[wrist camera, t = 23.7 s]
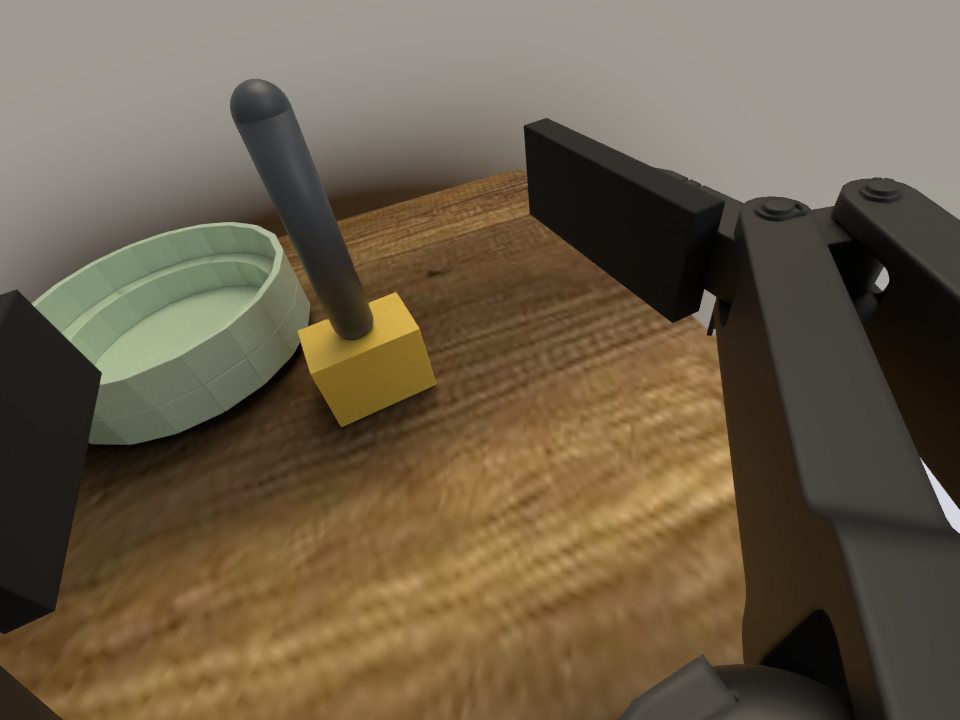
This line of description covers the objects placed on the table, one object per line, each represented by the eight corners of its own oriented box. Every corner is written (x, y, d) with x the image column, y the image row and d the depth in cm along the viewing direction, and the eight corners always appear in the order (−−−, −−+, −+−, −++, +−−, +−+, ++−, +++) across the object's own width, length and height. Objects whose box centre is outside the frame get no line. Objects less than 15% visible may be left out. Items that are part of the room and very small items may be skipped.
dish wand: (341, 427, 27) (162, 116, 15) (326, 384, 30) (164, 91, 18) (436, 384, 28) (339, 67, 16) (414, 346, 31) (317, 51, 19)
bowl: (16, 412, 32) (-61, 354, 28) (207, 270, 42) (170, 213, 38) (180, 489, 25) (110, 428, 21) (359, 299, 36) (333, 234, 32)
